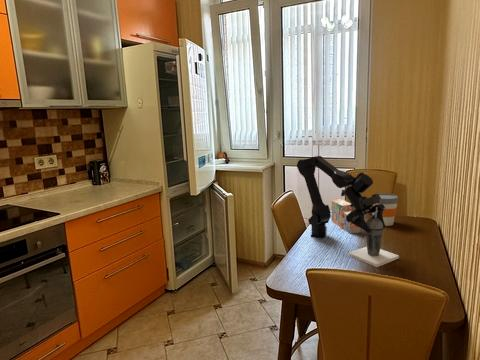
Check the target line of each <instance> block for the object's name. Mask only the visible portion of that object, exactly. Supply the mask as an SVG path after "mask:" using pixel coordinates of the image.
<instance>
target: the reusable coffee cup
mask: <svg viewBox="0 0 480 360" xmlns="http://www.w3.org/2000/svg"><path fill="white" fill-rule="evenodd" d="M377 194H378V195H379V196H380V197H381V200H380V203H381V204H383V205H384V207H385V209H384V211H383V214H382V216H383V220H384V224H385V227H389V226H393V225H394V221H395V217H396V215H397V210H398V203H399V196H398V195H396V194H393V193H377ZM380 203H376V204H380ZM376 204H374V205H376ZM374 205H373V206H374ZM373 206H372V207H373Z"/></svg>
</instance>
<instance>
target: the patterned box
mask: <svg viewBox="0 0 480 360" xmlns="http://www.w3.org/2000/svg"><path fill="white" fill-rule="evenodd" d="M330 203H331V204H330V207H331V209H330V211H331V213H330V214H331V217H330V219H331V223H333V224H334V225H336V226H338V227H339V228H341V229H342V230H344V231H346V232H347V234H348V233H349V234H356V233H357V234H358V233H362V229H361V228H360V227H358V226H356V225H354V224H351V222H350V223H348V222H347V220H346V216H347V215H348V214H349V213H350V212H351V211H353V210H354V207H351V206H350V205H351V203H350V202H348V201H347V200H344V199H331V202H330Z"/></svg>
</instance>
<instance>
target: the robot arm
mask: <svg viewBox="0 0 480 360" xmlns="http://www.w3.org/2000/svg"><path fill="white" fill-rule="evenodd" d="M316 167H317V168H318V169H319V170H321V171H322V172H323V173H325V174H326V175H327V176H329V177H330V179H331V181H332V183H333V184H334V185H335V186H336V187H337V188H338V189H342V190H341V194H340V195H341V197H346V198H347V200H348V201H349V203H350V204H351V205H350V206H351V207H353V211H351V212H350V213H349V214H348V215H347V216H346V220H347V222H348V223H350V222H351V224H354V225H356V226H358V227H360V228H361V230H363V231H364V232H365V233H366V232H368V233H370V232H371V231H370V229H369V227H368V225H367V224H366V222H367V221H366V220H365V216H366V215H369V216H371V218H375V213H376V207H377V216H376V218H378V219H379V220H381V222H382V223H383V228H384V229H385V228H386V226H385V224H384V220H383V216H382V214H383V211H384V209H385V207H384V205H383V204H381V203H380V200H381V197H380V196H379V195H378V194H379V193H374V194H372V195H371V196H370V197H367V196H365V195H364V196H363V194H362V193H364V192H366V191H367V190H368V189H369V188H370V187H371V186H373V184H374V181H373V178H372V177H370V176H369V175H367V174H365V173H364V172H358V174H357V176H353V175H352V174H351V173H348V172H346V171H343V170H340V169H338V168H337V167H335V166H334V165H333V164H331V163H330V162H328V161H327V160H326V159H325V158H324V157H323V156H321V155H315V156H312V157H309V158H303V159H302V158H301V159H299V160H298V161H297V164H296V168H297V170H298V173H299V174H300V175H301V176H302V177H303V178H304V180H305V185H306V187H307V190H308V194H309V197H310V201H311V203H312V208H311V217H309V219H308V220H307V221H308V225H311V234H310V237H312V238H318V239H319V238H321V239H324V238H325V237H326V236H327V231H328V230H327V226H326V225H327V224H329V223H330V219H331V216H332V213H331V212H332V211H331V209H330V206H329V204H325V203H324V202H323V198H322V195H321V192H320V189H319V187H318V182H317V180H316V177H315V173H316ZM343 188H345V189H343ZM376 203H380V204H376ZM374 204H376V205H374ZM373 205H374V206H373Z"/></svg>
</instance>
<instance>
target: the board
mask: <svg viewBox="0 0 480 360" xmlns="http://www.w3.org/2000/svg"><path fill="white" fill-rule="evenodd" d="M347 256H349V257H351V258H354V259H356V260H359V261H361V262H364V263H366V264H368V265H371V266H373V267H375V268H379V267H381V266H384V265H386V264H388V263H391V262H394V261H396V260H398V259H400V256H399V255H398V254H395V253H392V252H390V251H386V250H384V249H382V248H380V252H379V255H378V256H370V255H368V251H367V246H365V247H362V248H358V249H355V250H352V251H350V252H348V255H347Z"/></svg>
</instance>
